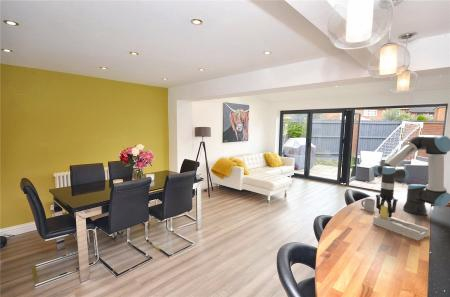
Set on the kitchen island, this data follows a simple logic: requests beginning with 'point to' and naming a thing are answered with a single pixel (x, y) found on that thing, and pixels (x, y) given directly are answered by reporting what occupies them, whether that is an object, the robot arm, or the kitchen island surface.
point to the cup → (368, 204)
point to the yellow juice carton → (384, 211)
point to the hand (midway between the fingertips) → (384, 219)
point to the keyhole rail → (402, 227)
